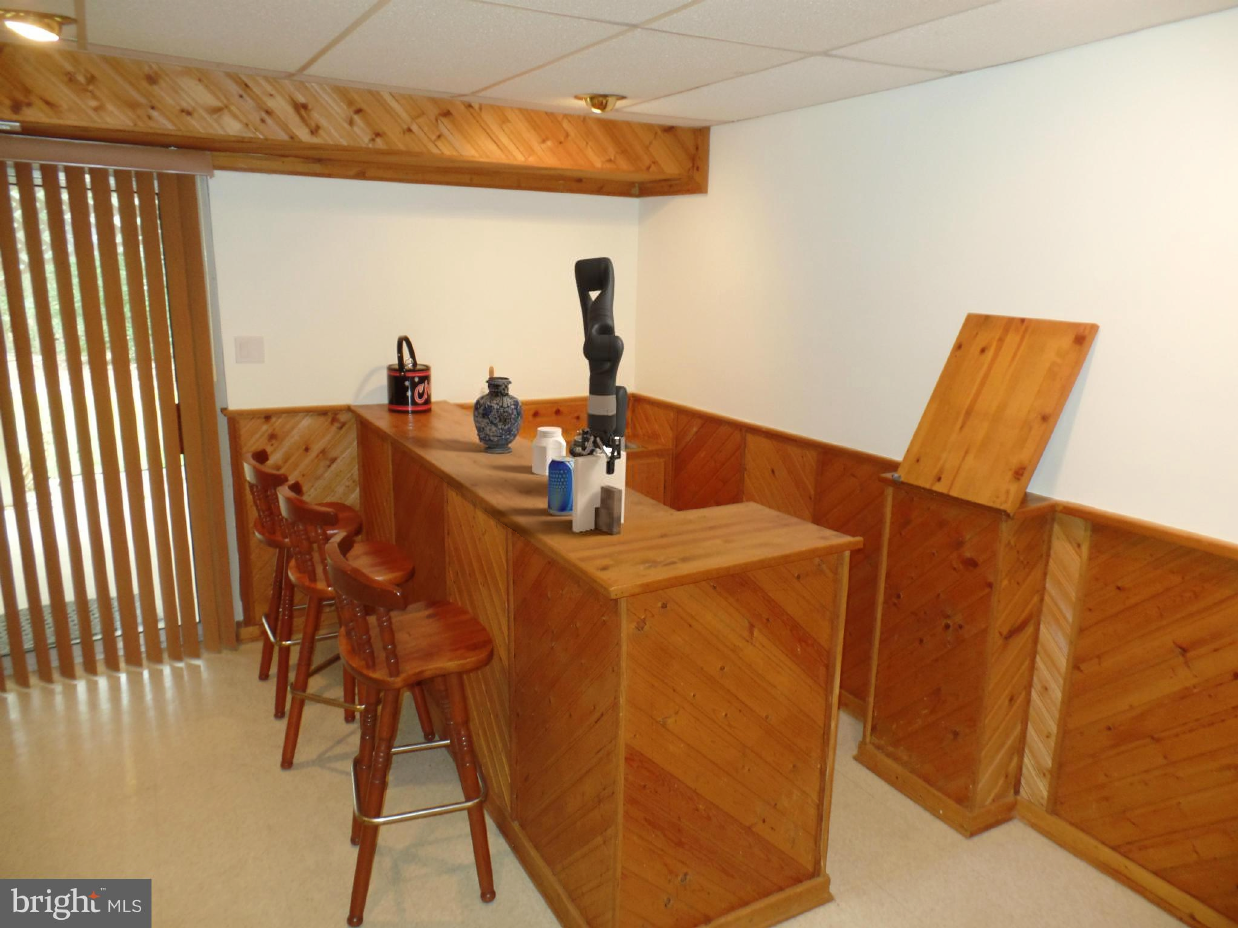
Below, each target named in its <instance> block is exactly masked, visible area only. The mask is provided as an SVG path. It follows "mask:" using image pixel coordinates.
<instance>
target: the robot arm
mask: <svg viewBox="0 0 1238 928" xmlns="http://www.w3.org/2000/svg"><path fill="white" fill-rule="evenodd" d="M613 264H614V263H613V262H612V259H611V258H610V257H607V256H599V257H593V258H592V257H591V258H584V259H583V258H582V259H577V260H576V261H575V264H574V280H575V283H576V284H575V285H576V288H577V290H576V291H577V293H578V298H579V305H580V309H581V310H580V311H581V316H582V323H583V325H582V326H583V336H584V337H583V338H584V342H583V346H582V355H583V356H584V358H585V359H586V360H587V361H588V370H589V377H588V382H589V383H588V399H587V417H586V419H587V421H586V422H587V426H586V427H587V428H585V429H582V431H581V436H582V441H581V450H582V451H585V454H586V456H589V455H595V454H593V453H595V451H596V449H597V448H598V449H599V450H602V453H603V454H605V456H606V459H607V461H606V474H608V475H611V474H614V471H615V460H617V459H620V458H621V451H623V452H626V451H625V449H626V447H625V445H626V444H625V442H626V441H625V440H626V426H627V413H628V404H629V403H628V401H629V398H628V397H629V394H628V389H627V388H626V387H625V386H624V385H623V386H622V385H617V376H618V371H619V367H620V363H621V361H622V357H623V355H624V352H625V351H624V349H625V343H624V340H623V339H622V338H621V336H619V335H616V330H615V329H616V328H615V318H614V317H615V316H614V300H615V286H616V283H615V270H614V265H613ZM590 292H592V293H593V292H599V293H598V295H597V296H596V297H595V298H594V299H593V298H592V296H591V293H590ZM586 442H587V446H585V443H586ZM615 452H617V455H615ZM609 453H610V454H611V456H610V455H609Z"/></svg>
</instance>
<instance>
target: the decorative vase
mask: <svg viewBox="0 0 1238 928" xmlns="http://www.w3.org/2000/svg"><path fill="white" fill-rule="evenodd" d="M485 383H486V384H487V388H488V392H487V393H486V394H484V395H483V394H482V395H481V396H479V397H478V398H477V399H476V400H475V402H474V404H473V409H472V410H473V411H472V417H473V424H474V427H475V430H476V432H477V433H476V436H477V437H478V442H479V443H480V444H483V445H484V446H485V447H484V448H483V452H485V453H487V454H494V455H495V454H496V455H500V454H501V455H503V454H509V453H512V452H513V448H512V447H510V446H509V445H510V444H512V443H513V442H514V441H515V440H516V439H517V437H518V434H519V432H520V430H521V427H522V423H523V419H524V418H523V417H524V411H523V404H522V403H521V401H520V399H519V398H518V397H516V396H514V395H512V394H510V393H509V392H510V390H509V389H510V387H509V385H512V384H513V382H512V381H511V380H510V377H505V376H489V377H488V379H487V380H486V381H485Z"/></svg>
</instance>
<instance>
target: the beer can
mask: <svg viewBox="0 0 1238 928" xmlns="http://www.w3.org/2000/svg"><path fill="white" fill-rule="evenodd" d="M547 478H548V479H547V510H548V511H549V513H550V514H551V515H554V516H563V517H566V516H571V515H572V516H573V485H574V457H572V456H571V455H566V456H554V457H552V460H551V462H550V463H549V465H548V475H547Z"/></svg>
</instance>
